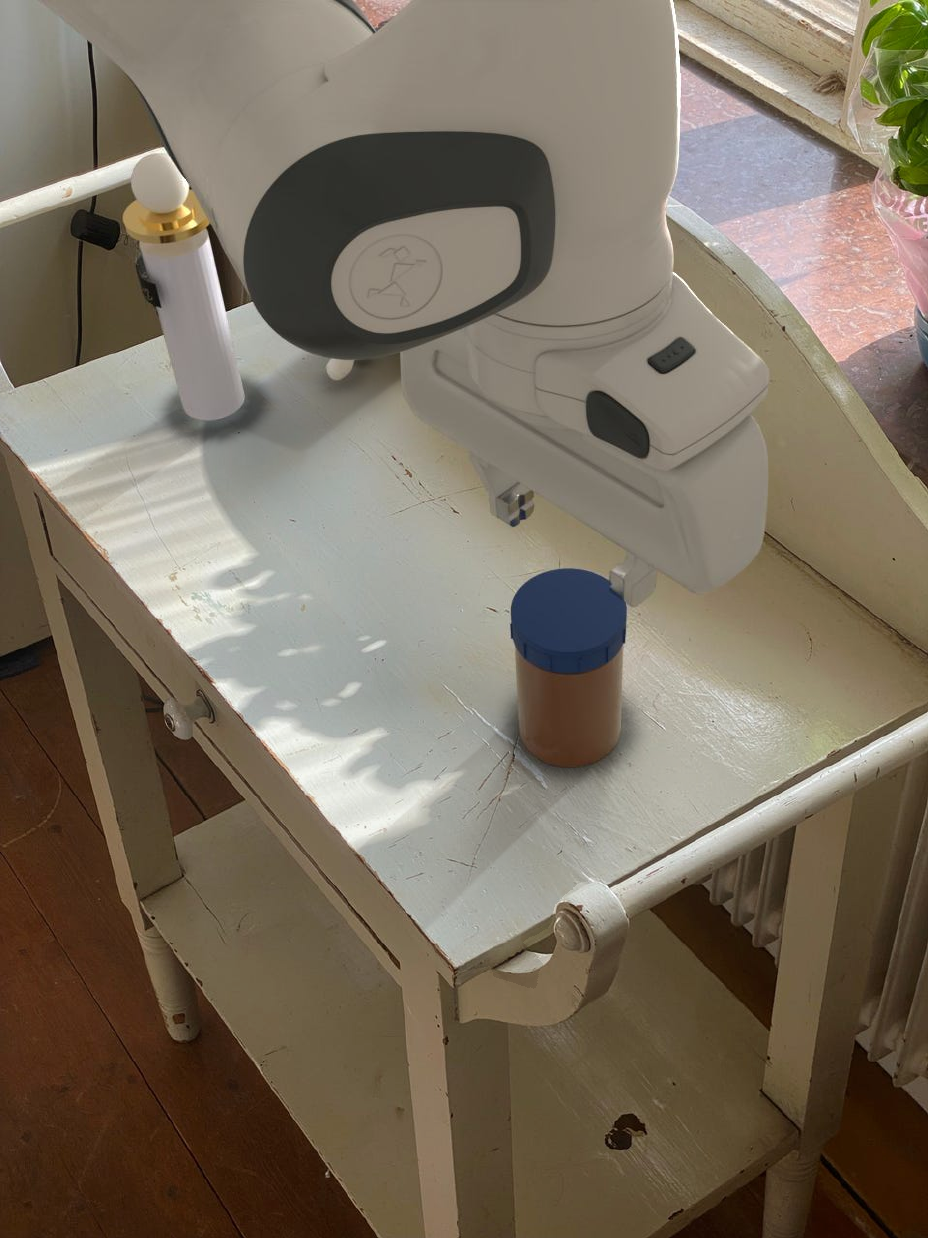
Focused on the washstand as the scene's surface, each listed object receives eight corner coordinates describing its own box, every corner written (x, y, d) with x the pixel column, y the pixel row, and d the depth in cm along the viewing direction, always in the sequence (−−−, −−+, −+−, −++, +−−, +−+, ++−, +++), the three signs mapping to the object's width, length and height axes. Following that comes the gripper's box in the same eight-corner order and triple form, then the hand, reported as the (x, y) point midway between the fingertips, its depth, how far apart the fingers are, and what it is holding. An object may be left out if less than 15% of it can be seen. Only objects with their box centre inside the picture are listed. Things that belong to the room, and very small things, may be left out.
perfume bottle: (246, 376, 104) (190, 126, 89) (262, 422, 100) (207, 168, 85) (170, 395, 103) (101, 145, 88) (183, 442, 99) (114, 188, 84)
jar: (546, 782, 77) (542, 671, 70) (502, 709, 80) (495, 597, 73) (638, 745, 78) (644, 633, 71) (591, 675, 82) (592, 562, 75)
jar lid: (541, 689, 70) (541, 667, 69) (493, 612, 74) (491, 590, 73) (646, 649, 72) (647, 627, 71) (593, 576, 76) (593, 553, 75)
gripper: (353, 265, 63) (386, 491, 73) (701, 463, 52) (684, 695, 62) (453, 208, 66) (472, 433, 76) (804, 384, 55) (772, 620, 65)
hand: (570, 553), depth 69 cm, fingers open, 7 cm apart
